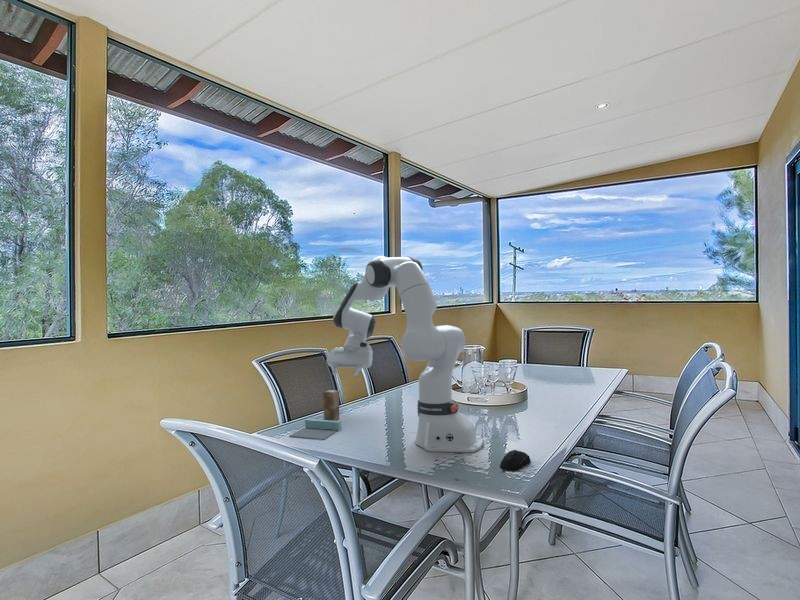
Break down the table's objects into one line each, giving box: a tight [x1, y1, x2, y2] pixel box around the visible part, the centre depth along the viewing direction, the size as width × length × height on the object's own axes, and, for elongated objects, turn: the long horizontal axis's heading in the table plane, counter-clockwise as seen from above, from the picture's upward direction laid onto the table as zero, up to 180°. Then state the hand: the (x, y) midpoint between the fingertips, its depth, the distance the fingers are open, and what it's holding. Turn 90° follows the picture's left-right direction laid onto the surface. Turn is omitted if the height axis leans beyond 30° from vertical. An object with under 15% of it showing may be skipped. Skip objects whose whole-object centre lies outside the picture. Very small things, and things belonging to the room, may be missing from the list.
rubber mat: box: [288, 428, 337, 441], centre depth 163 cm, size 14×9×1 cm, turn 71°
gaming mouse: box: [499, 449, 531, 474], centre depth 130 cm, size 6×15×4 cm, turn 139°
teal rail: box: [304, 418, 342, 431], centre depth 170 cm, size 14×2×3 cm, turn 71°
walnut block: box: [322, 389, 341, 421], centre depth 179 cm, size 4×4×12 cm
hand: (344, 374), depth 190 cm, fingers open, 8 cm apart
